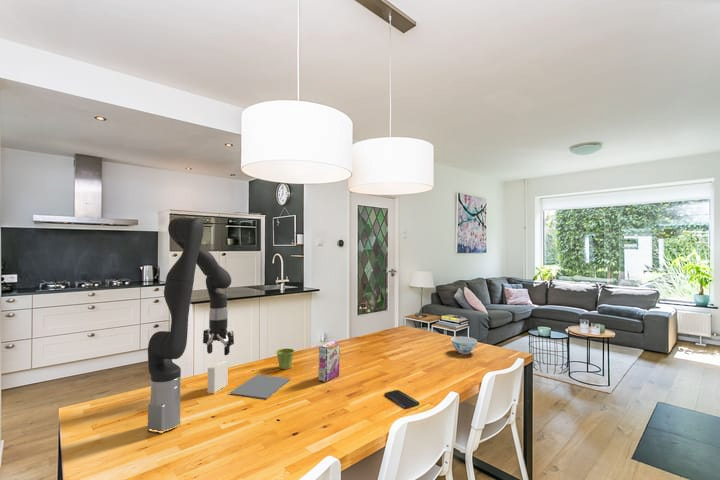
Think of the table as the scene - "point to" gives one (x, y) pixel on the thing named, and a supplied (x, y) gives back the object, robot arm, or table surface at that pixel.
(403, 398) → the phone
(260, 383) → the slate mat
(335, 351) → the candy bar box
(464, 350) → the chinaware
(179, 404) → the robot arm
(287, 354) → the plant pot
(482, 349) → the table surface
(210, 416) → the table surface
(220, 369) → the cream block
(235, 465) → the table surface
